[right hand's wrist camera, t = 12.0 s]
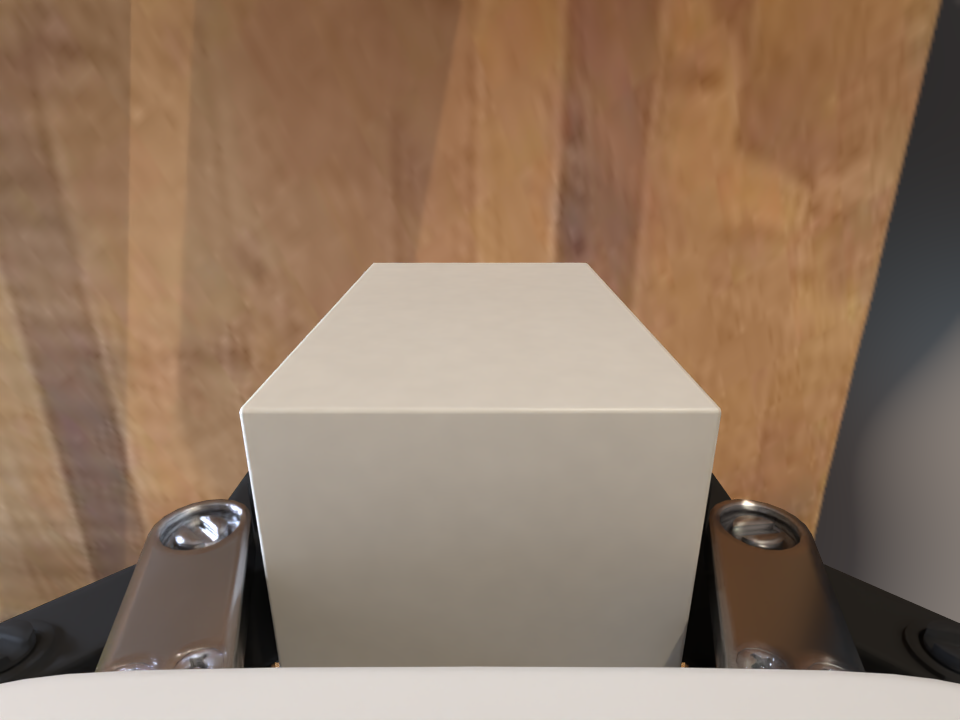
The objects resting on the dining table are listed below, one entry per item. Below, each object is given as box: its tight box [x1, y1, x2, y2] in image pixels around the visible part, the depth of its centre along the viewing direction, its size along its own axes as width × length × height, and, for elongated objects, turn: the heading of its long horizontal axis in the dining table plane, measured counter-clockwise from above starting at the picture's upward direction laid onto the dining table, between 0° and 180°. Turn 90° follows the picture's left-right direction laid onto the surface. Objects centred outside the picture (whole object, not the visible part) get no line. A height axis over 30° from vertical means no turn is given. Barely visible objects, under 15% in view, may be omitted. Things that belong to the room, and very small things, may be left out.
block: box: [240, 263, 721, 668], centre depth 11 cm, size 5×7×8 cm
